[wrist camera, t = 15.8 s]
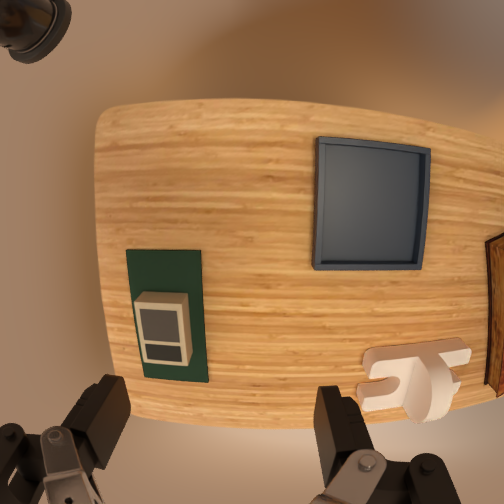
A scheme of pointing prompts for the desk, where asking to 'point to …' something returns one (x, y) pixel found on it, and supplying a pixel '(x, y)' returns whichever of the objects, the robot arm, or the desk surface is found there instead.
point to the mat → (174, 281)
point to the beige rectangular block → (164, 327)
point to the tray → (370, 205)
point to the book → (495, 314)
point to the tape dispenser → (413, 377)
